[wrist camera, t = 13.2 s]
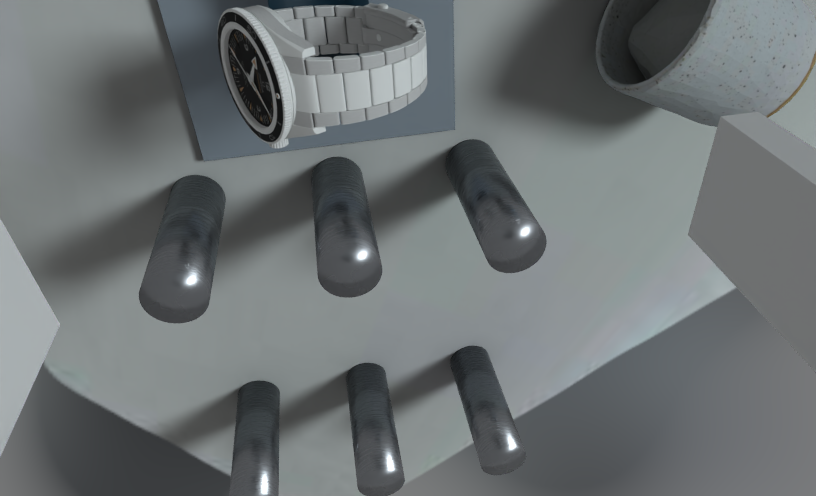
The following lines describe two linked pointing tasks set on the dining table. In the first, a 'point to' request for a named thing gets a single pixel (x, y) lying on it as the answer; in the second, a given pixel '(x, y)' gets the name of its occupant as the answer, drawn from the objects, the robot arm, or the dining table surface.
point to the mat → (431, 112)
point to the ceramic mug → (707, 54)
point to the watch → (319, 64)
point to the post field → (349, 277)
